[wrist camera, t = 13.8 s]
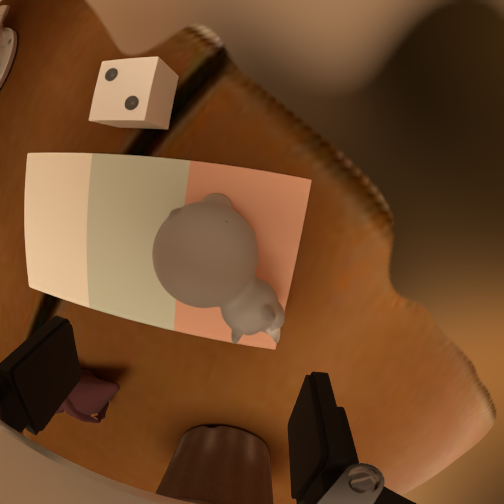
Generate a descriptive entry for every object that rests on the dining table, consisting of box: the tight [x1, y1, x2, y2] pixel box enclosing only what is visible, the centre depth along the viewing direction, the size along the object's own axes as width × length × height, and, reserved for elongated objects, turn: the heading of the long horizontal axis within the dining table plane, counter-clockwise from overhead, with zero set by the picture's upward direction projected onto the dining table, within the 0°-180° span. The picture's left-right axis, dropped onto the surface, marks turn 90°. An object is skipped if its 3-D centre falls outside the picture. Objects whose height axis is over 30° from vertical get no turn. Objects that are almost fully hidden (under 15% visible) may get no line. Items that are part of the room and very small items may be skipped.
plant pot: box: [155, 426, 273, 504], centre depth 25 cm, size 16×16×16 cm
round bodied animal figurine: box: [152, 193, 285, 344], centre depth 21 cm, size 7×12×8 cm, turn 37°
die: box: [89, 57, 179, 130], centre depth 19 cm, size 5×5×5 cm
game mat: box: [24, 153, 312, 350], centre depth 25 cm, size 16×30×1 cm, turn 81°
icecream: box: [56, 368, 120, 423], centre depth 27 cm, size 7×7×15 cm
